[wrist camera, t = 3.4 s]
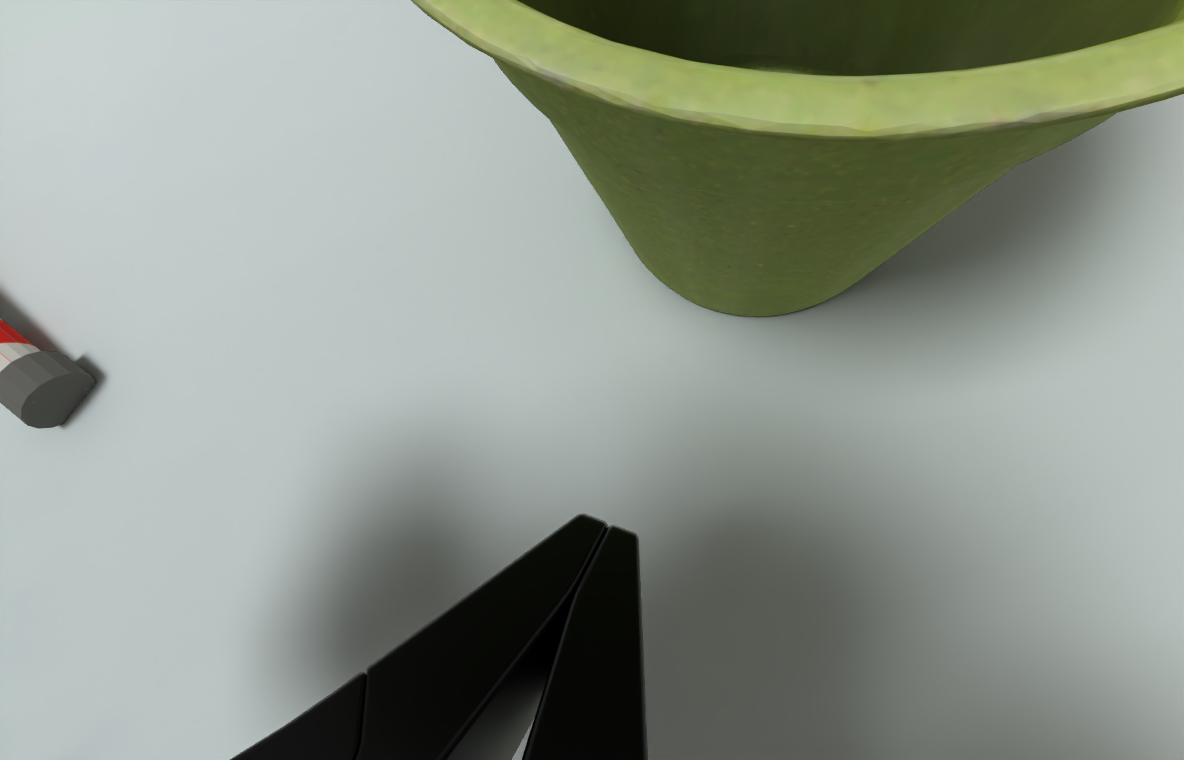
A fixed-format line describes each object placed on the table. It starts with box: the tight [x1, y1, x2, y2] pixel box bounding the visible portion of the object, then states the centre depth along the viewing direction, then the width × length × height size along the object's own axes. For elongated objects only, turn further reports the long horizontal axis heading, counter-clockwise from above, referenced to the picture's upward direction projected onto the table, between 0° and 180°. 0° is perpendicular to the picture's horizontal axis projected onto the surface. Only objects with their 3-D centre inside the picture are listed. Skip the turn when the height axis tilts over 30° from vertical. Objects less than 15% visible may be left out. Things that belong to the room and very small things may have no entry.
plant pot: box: [411, 0, 1184, 316], centre depth 11 cm, size 12×12×11 cm
